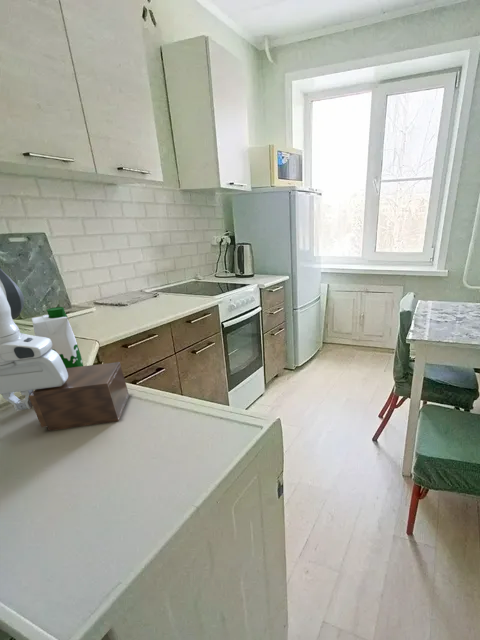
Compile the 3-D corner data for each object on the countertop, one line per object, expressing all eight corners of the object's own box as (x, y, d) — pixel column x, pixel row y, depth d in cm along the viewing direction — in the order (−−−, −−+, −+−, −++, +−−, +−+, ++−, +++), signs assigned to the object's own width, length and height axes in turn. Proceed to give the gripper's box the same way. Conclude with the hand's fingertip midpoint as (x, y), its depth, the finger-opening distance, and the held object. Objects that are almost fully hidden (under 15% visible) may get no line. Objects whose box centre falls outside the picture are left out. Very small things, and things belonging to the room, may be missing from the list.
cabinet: (48, 431, 78) (32, 392, 73) (68, 404, 89) (55, 369, 85) (118, 421, 80) (107, 383, 76) (129, 396, 91) (119, 361, 87)
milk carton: (89, 377, 103) (67, 309, 95) (54, 386, 99) (27, 316, 90) (84, 368, 110) (62, 304, 101) (50, 376, 105) (25, 310, 96)
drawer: (35, 428, 77) (22, 396, 74) (55, 403, 87) (44, 375, 84) (106, 418, 80) (96, 387, 76) (117, 395, 90) (109, 367, 86)
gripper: (-72, 360, 66) (-38, 423, 72) (46, 347, 69) (69, 408, 76) (-50, 349, 72) (-21, 408, 78) (58, 338, 75) (79, 395, 81)
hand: (25, 408), depth 77 cm, fingers closed
